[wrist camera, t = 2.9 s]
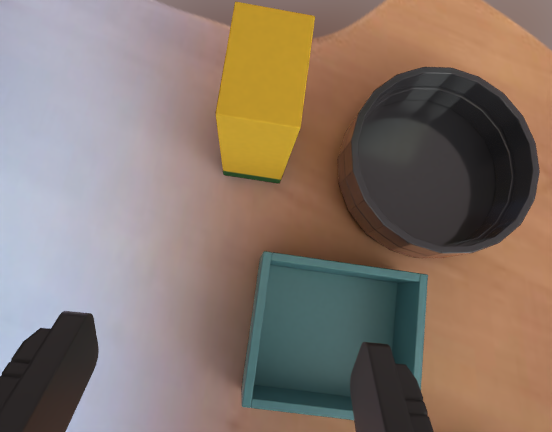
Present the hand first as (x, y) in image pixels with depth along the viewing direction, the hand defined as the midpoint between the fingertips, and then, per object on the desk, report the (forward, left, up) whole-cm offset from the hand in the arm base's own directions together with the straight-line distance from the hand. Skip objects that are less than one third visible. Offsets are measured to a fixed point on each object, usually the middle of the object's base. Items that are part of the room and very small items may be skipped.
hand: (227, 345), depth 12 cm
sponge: (-9, +9, -15) cm, 19 cm away
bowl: (0, +17, -15) cm, 22 cm away
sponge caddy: (+5, +4, -15) cm, 16 cm away
